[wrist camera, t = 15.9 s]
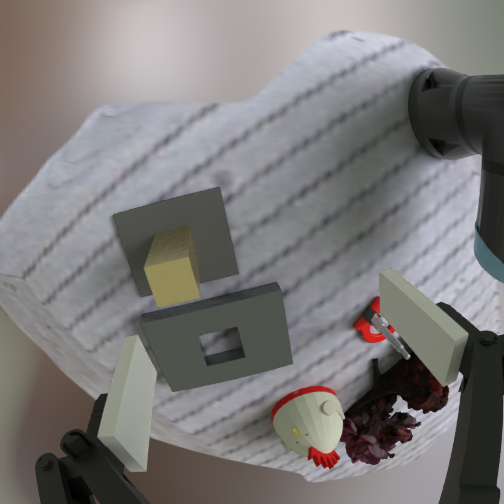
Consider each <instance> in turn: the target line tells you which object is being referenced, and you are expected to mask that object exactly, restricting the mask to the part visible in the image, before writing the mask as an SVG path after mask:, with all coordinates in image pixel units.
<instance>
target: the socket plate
mask: <svg viewBox="0 0 504 504" xmlns="http://www.w3.org/2000/svg"><path fill="white" fill-rule="evenodd" d="M140 324H141V326H142V329H143V331H144V333H145V335H146V338H147V340H148V342H149V344H150V347H151V349H152V351H153V353H154V355H155V357H156V359H157V362H158V364H159V366H160V368H161V370H162V372H163V374H164V376H165V378H166V380H167V382H168V384H169V386H170V388H171V390H172V392H175V391H181V390H186V389H191V388H196V387H201V386H206V385H211V384H215V383H220V382H224V381H229V380H233V379H237V378H242V377H246V376H250V375H254V374H258V373H261V372H265V371H269V370H273V369H276V368H280V367H283V366H287V365H290V364H293V360H292V354H291V348H290V341H289V335H288V329H287V322H286V316H285V310H284V304H283V298H282V292H281V289H280V287H279V285H278V283H277V282H275V283H271V284H267V285H263V286H259V287H255V288H252V289H248V290H244V291H240V292H236V293H231V294H227V295H223V296H219V297H215V298H211V299H207V300H203V301H198V302H194V303H190V304H186V305H181V306H177V307H173V308H168V309H164V310H159V311H155V312H151V313H146V314H142V319H141V323H140ZM233 327H238V331H239V335H240V339H241V342H242V346H243V348H239V349H235V350H231V351H227V352H222V353H218V354H214V355H209V356H206V354H205V351H204V349H203V346H202V343H201V340H200V337H199V335H203V334H208V333H212V332H216V331H220V330H225V329H229V328H233Z"/></svg>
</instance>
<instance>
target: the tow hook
mask: <svg viewBox="0 0 504 504" xmlns="http://www.w3.org/2000/svg"><path fill="white" fill-rule="evenodd" d="M376 311H377V312H378V313H380V297H379V296H378V297H377V299H376V300H375V301H374V302H373V303H372V305H371V306H369V307H368V308H367V310H366V311H365V312H364V313H363V314H362V316H361V318H360V319H359V320H358V321H357V322H356V323H355V324H354V327H355V328H356V329H357V330H358V331H360V330H361V334H362V336H363V337H364V339H365V340H366V341H368V342H371V343H375V342H380V341H382V340H384V339H387V340H388V341H389V342H390V343H391V344H392V346H393V347H394V348H395V349H396V350H397V351H398V352H400V353H401V354H402V355H403V356H404V357H405V359H406V360H408V359H409V358H410V355H409V354H408V353H407V352H406V350H405V349H404V346H403V345H402V344H401V343H400V342H399V341H398V339H397V338H396V337H395V336H394V335H393V334H392V333H393V332H394V331H395V329H394V328H393V327H392V326H391V325H390V326H389V327H388V328H387V327H386V324H385V323H384V322H383V321H382V320H381V319H380V317H381V316H380V315H379V314H378V313H377V312H376ZM370 325H372V326H374V327H375V328H376V330H377V331H378V332H381V333H379V334H372V333H370Z"/></svg>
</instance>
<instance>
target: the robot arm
mask: <svg viewBox="0 0 504 504" xmlns="http://www.w3.org/2000/svg"><path fill="white" fill-rule="evenodd" d="M409 115H410V121H411V124H412V128H413V130H414V133H415V135H416V137H417V139H418V140H419V142H420V144H421V145H422V146H423V147H424V148H425V149H426V150H427V151H428V152H429V153H430V154H432V155H433V156H435V157H438V158H443V159H448V160H457V159H461V158H465V157H468V156H472V155H476V154H481V155H482V168H481V184H480V196H479V205H478V213H477V220H476V223H475V231H476V232H475V241H474V253H475V256H476V258H477V260H478V262H479V264H480V265H481V267H482V268H483V269H484V270H485V271H486V272H487V273H488V274H490V275H491V276H492V277H494V278H495V279H497V280H498V281H500V282H502V283H504V75H482V76H468V75H465V74H462V73H459V72H456V71H453V70H450V69H446V68H436V69H429V70H426V71H424V72H422V73H421V74H420V75H419V76H418V77H417V78H416V79H415V81H414V83H413V85H412V87H411V91H410V95H409ZM379 277H380V314H381V315H382V316H383V317H384V318H385V319H386V320H387V322H388V323H389V324H390V325H391V326H392V327H393V328H394V329H395V331H396V332H397V333H398V334H399V335H400V336H401V337H402V339H403V340H404V341H405V342H406V343H407V344H408V346H409V347H410V348H411V349H412V350H413V351H414V353H415V354H416V355H417V356H418V357H419V358H420V360H421V361H422V362H423V363H424V364H425V366H426V367H427V368H428V369H429V370H430V372H431V373H432V374H433V375H434V376H435V378H436V379H437V380H438V381H439V382H440V384H441V385H442V386H443V387H445V386H447V385H449V384H450V383H452V382H454V381H456V379H457V376H458V373H459V371H460V372H461V373H462V375H463V379H462V382H461V385H460V388H459V391H458V392H461V396H460V405H459V412H458V419H457V426H456V432H455V438H454V443H453V449H452V453H451V458H450V462H449V467H448V471H447V475H446V479H445V483H444V487H443V490H442V494H441V497H440V501H439V504H499V500H500V489H499V488H498V487H497V486H496V485H497V477H498V469H499V462H500V453H501V442H502V441H501V440H502V427H503V395H504V334H503V335H499V336H498V335H497V334H496V333H494V332H492V331H487V330H486V331H479V330H478V329H477V328H476V327H475V326H474V325H472V324H471V323H470V322H469V321H468V320H467V319H465V318H464V317H462V315H461V314H460V313H458V312H457V311H456V310H455V309H454V308H452V307H451V306H450V305H448V304H445V303H443V302H439V303H437V304H435V303H433V302H432V301H431V300H430V299H429V298H428V297H426V296H425V295H424V294H423V293H422V292H420V291H419V290H418V289H417V288H416V287H414V286H413V285H412V284H411V283H410V282H408V281H407V280H406V279H405V278H403V277H402V276H401V275H400V274H399V273H397V272H396V271H395V270H394V269H392V268H388V269H385V270H382V271H379ZM156 377H157V371H156V370H155V368H154V366H153V364H152V362H151V360H150V358H149V356H148V354H147V352H146V350H145V348H144V346H143V344H142V342H141V340H140V338H139V336H138V335H134V336H129V337H125V339H124V342H123V345H122V349H121V352H120V355H119V358H118V362H117V365H116V368H115V372H114V375H113V379H112V382H111V386H110V389H109V393H107V394H101V395H100V396H99V397H98V399H97V400H96V401H95V404H94V407H93V412H92V414H91V419H90V421H89V425H88V428H87V433H85V432H83V431H82V430H79V429H75V430H71V431H69V432H67V433H66V434H65V435H64V436H63V438H62V439H61V443H60V446H61V449H62V450H63V452H64V453H65V454H66V455H67V457H63V458H60V459H58V458H57V457H56V456H55V455H54V454H52V453H46V454H43V455H42V456H40V457H39V459H38V460H37V462H36V465H35V470H36V478H37V484H38V490H39V496H40V501H41V504H96V502H95V499H94V497H93V494H94V496H95V497H96V499H97V500H98V502H99V503H100V504H151V503H150V502H149V501H148V500H147V499H146V498H145V497H144V495H143V494H142V493H141V492H140V491H139V490H138V489H137V488H136V486H135V485H134V484H133V483H132V482H131V481H130V480H129V478H128V477H127V476H126V475H125V474H124V473H123V472H124V466H125V467H126V468H127V469H128V470H129V471H130V472H141V471H146V468H147V457H148V446H149V436H150V426H151V417H152V408H153V400H154V392H155V384H156Z"/></svg>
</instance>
